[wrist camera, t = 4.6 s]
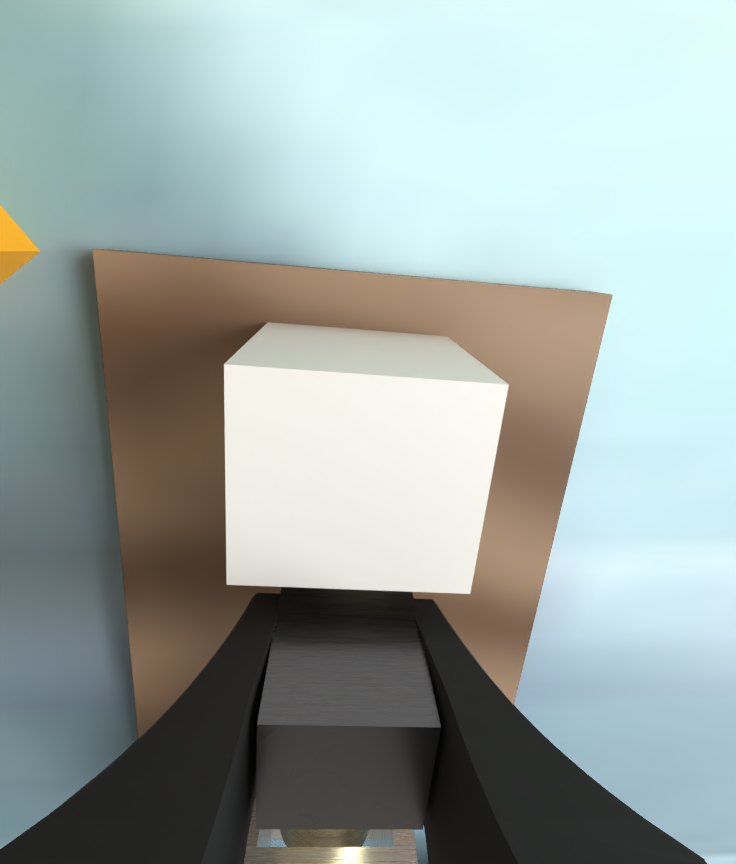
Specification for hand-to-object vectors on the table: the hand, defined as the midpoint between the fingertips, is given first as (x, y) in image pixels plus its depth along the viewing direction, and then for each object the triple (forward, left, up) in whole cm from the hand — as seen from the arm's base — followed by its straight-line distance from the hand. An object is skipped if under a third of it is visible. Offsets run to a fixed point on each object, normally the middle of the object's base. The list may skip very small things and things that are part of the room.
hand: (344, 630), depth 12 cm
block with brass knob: (-2, 0, -3) cm, 3 cm away
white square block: (+4, 0, -5) cm, 7 cm away
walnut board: (-3, 0, -5) cm, 6 cm away
